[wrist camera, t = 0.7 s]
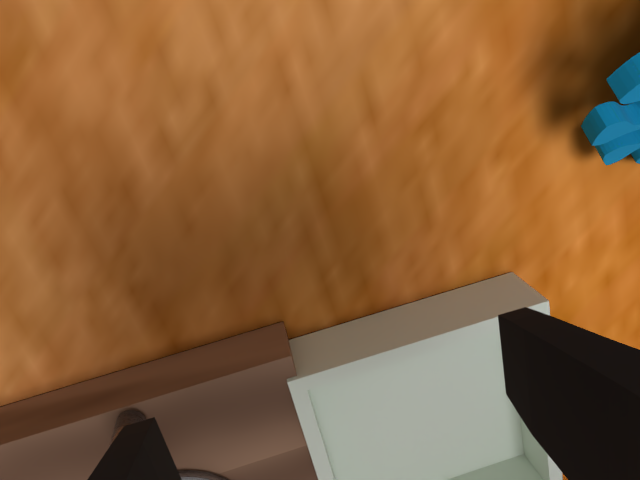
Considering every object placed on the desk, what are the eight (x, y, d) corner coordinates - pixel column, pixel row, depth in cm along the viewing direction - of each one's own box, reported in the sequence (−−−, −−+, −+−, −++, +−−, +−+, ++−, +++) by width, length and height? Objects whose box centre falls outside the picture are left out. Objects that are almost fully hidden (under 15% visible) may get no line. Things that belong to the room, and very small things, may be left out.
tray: (531, 451, 26) (563, 494, 24) (334, 517, 25) (347, 569, 23) (511, 271, 22) (548, 300, 20) (279, 342, 22) (287, 382, 19)
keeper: (178, 488, 20) (173, 544, 18) (151, 497, 20) (143, 554, 18) (139, 406, 18) (129, 456, 16) (111, 415, 18) (96, 466, 16)
